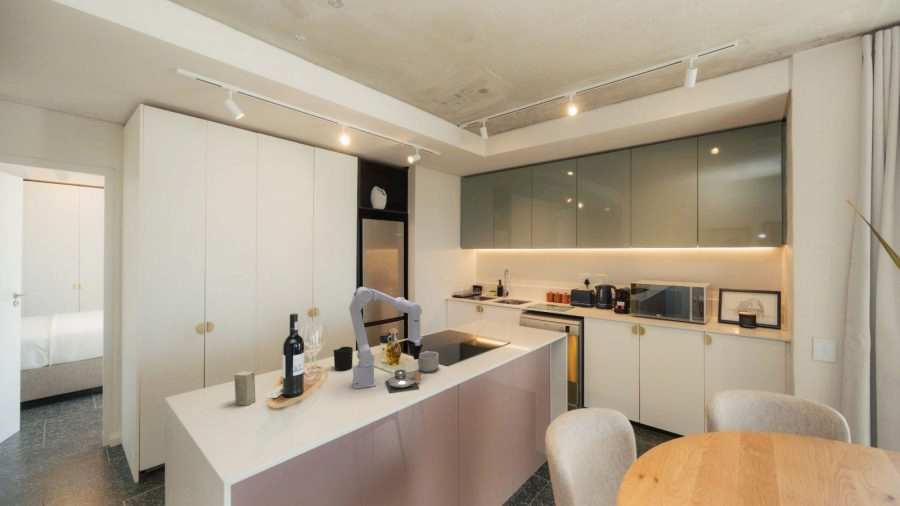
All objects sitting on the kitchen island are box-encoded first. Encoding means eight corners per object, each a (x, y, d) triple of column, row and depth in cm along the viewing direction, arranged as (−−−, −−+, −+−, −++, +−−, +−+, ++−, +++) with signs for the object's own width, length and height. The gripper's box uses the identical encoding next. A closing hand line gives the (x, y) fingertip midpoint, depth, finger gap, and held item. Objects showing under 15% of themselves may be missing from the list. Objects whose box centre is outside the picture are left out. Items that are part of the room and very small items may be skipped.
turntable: (389, 389, 152) (389, 381, 152) (385, 379, 163) (385, 372, 163) (423, 384, 157) (423, 377, 157) (417, 375, 168) (416, 368, 168)
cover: (395, 379, 160) (395, 373, 160) (393, 375, 165) (393, 369, 165) (406, 378, 161) (406, 371, 161) (404, 374, 166) (404, 368, 166)
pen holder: (334, 366, 186) (333, 347, 186) (352, 364, 189) (352, 345, 189) (333, 372, 177) (333, 352, 177) (353, 370, 180) (353, 350, 180)
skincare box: (256, 401, 145) (255, 371, 144) (247, 406, 141) (246, 375, 140) (243, 399, 146) (242, 370, 146) (234, 404, 142) (233, 374, 142)
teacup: (438, 373, 174) (438, 357, 174) (416, 373, 174) (416, 357, 174) (439, 364, 188) (439, 349, 188) (419, 364, 188) (419, 349, 188)
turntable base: (389, 393, 152) (389, 390, 151) (385, 382, 164) (385, 379, 164) (419, 389, 156) (419, 386, 156) (412, 378, 168) (412, 376, 168)
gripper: (426, 331, 164) (426, 360, 165) (419, 324, 178) (419, 351, 178) (411, 332, 162) (411, 362, 162) (405, 325, 176) (405, 353, 176)
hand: (414, 356), depth 170 cm, fingers open, 7 cm apart
